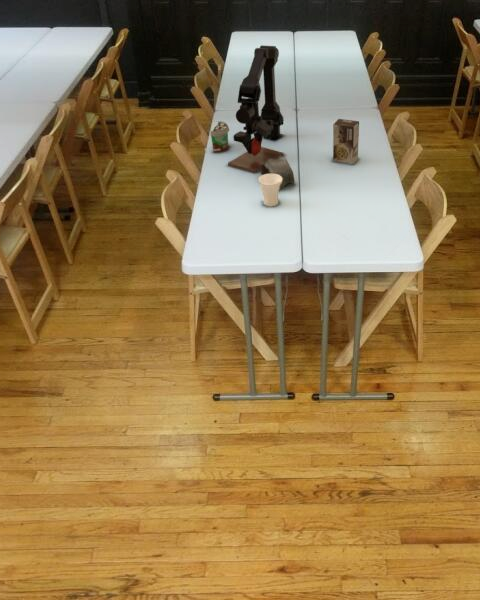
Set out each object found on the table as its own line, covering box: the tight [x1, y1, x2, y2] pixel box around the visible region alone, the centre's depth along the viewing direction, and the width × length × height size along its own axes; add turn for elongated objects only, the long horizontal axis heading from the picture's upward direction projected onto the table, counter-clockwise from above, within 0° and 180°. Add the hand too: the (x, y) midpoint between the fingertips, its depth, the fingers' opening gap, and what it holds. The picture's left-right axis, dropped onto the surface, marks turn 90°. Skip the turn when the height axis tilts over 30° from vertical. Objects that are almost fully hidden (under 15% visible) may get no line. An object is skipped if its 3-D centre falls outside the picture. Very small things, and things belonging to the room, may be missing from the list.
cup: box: [257, 174, 282, 207], centre depth 229 cm, size 9×9×10 cm
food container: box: [210, 120, 230, 154], centre depth 270 cm, size 12×6×10 cm, turn 168°
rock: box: [260, 155, 295, 190], centre depth 244 cm, size 18×11×8 cm, turn 16°
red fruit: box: [251, 136, 262, 156], centre depth 258 cm, size 6×6×8 cm
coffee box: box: [332, 118, 360, 165], centre depth 255 cm, size 9×6×16 cm
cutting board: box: [227, 146, 284, 174], centre depth 262 cm, size 20×14×1 cm
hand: (254, 151), depth 259 cm, fingers closed on red fruit, 6 cm apart
